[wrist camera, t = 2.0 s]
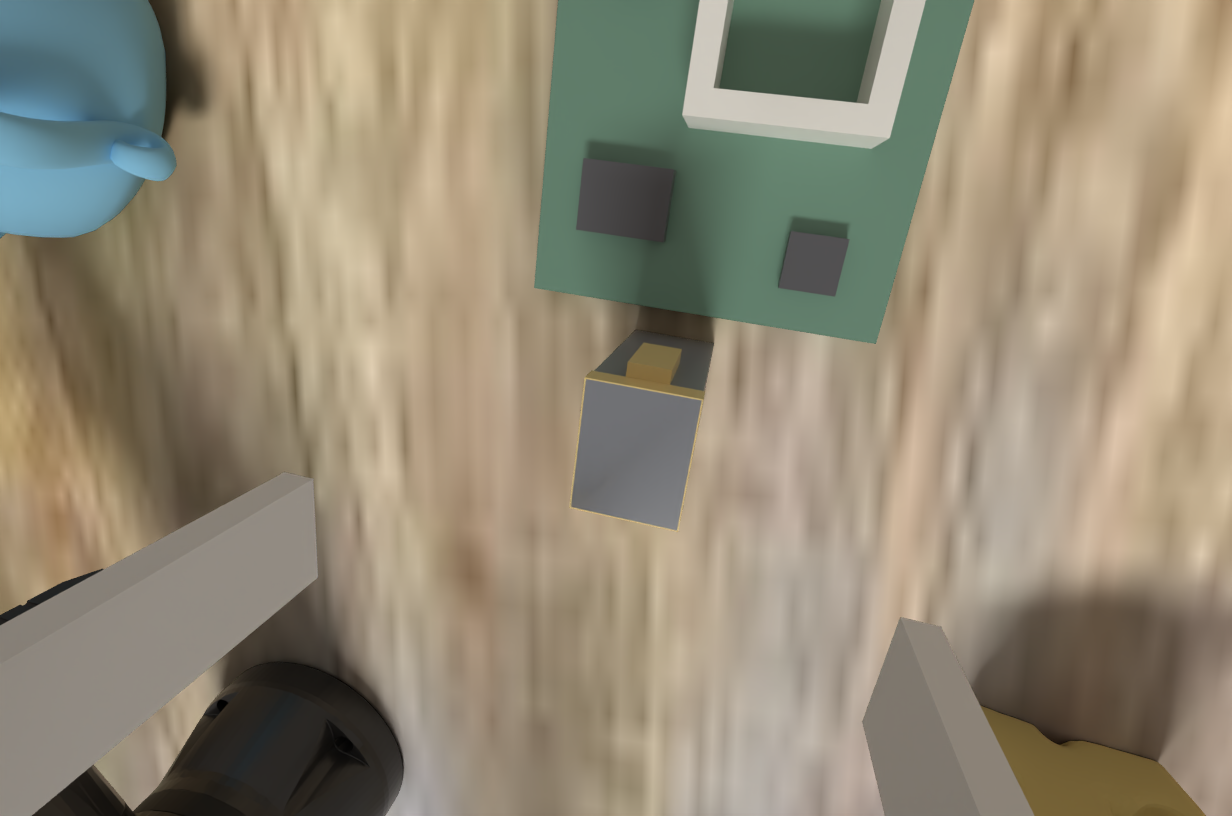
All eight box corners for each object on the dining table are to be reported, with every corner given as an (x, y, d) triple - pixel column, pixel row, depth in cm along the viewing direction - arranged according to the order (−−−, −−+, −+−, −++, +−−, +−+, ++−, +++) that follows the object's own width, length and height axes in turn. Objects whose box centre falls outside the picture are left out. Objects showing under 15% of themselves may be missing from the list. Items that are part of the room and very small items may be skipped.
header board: (544, 285, 29) (511, 294, 25) (583, -159, 23) (549, -244, 19) (868, 337, 27) (892, 358, 23) (1003, -143, 21) (1070, -235, 17)
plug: (621, 422, 31) (569, 507, 21) (636, 317, 29) (586, 361, 19) (697, 436, 30) (677, 532, 21) (717, 331, 28) (706, 383, 19)
